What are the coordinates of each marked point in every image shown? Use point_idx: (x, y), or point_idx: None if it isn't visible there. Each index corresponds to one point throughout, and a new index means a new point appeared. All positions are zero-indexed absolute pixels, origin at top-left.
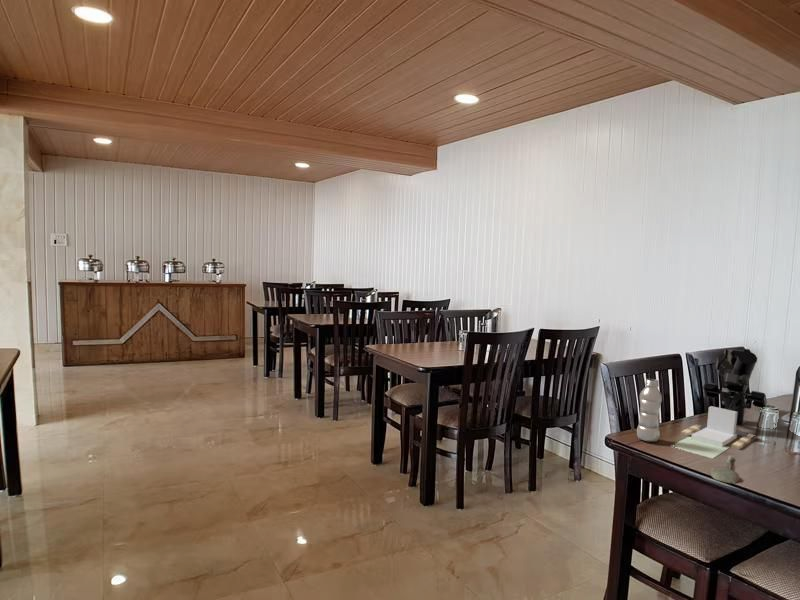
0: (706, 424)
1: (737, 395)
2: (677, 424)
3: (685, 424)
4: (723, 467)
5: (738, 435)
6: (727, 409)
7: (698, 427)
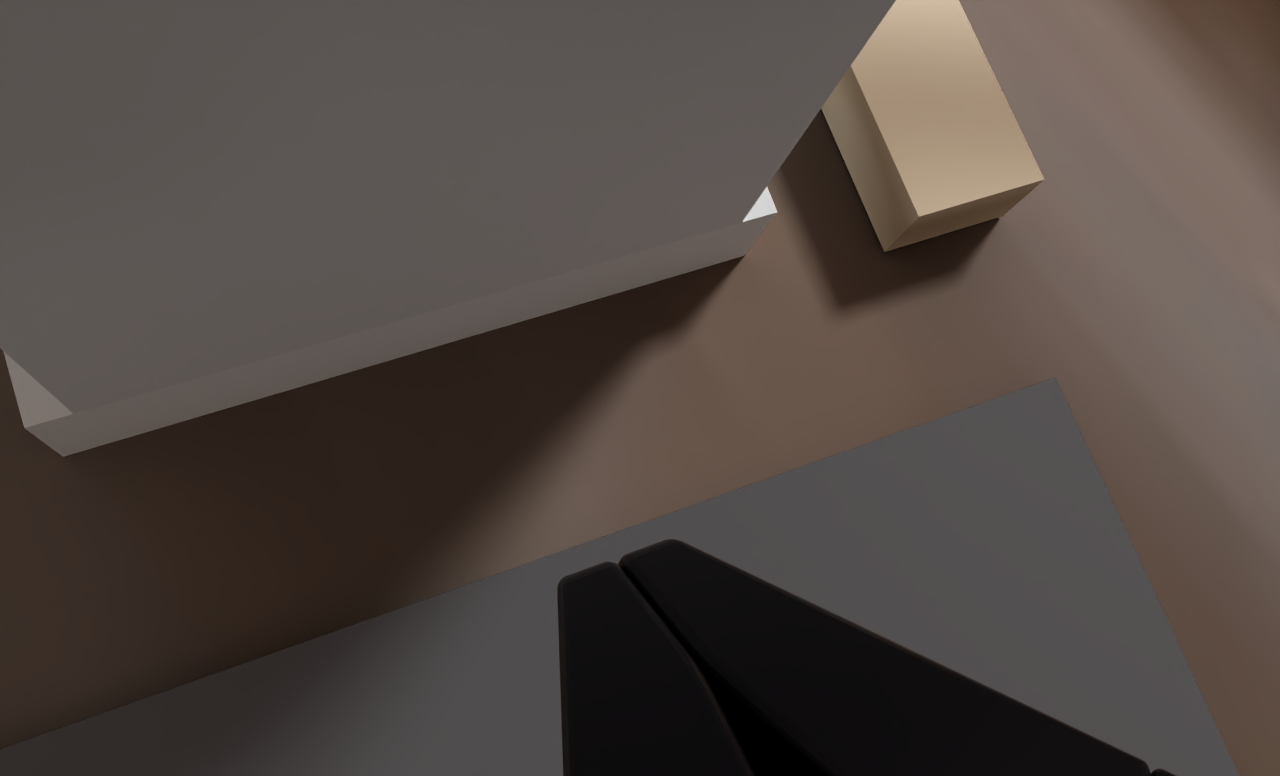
0: (1141, 721)
1: None
2: (1237, 42)
3: (1225, 218)
4: None
5: (147, 700)
6: (721, 625)
7: None
